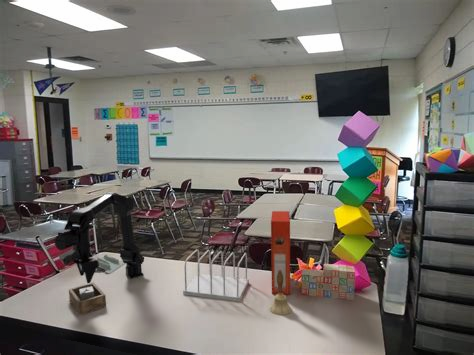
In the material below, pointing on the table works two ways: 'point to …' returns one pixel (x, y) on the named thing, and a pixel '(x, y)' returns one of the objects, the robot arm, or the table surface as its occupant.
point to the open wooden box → (87, 304)
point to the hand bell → (280, 299)
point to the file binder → (280, 249)
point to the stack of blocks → (329, 282)
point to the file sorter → (217, 281)
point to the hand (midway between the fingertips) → (85, 279)
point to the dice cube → (86, 293)
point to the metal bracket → (109, 263)
